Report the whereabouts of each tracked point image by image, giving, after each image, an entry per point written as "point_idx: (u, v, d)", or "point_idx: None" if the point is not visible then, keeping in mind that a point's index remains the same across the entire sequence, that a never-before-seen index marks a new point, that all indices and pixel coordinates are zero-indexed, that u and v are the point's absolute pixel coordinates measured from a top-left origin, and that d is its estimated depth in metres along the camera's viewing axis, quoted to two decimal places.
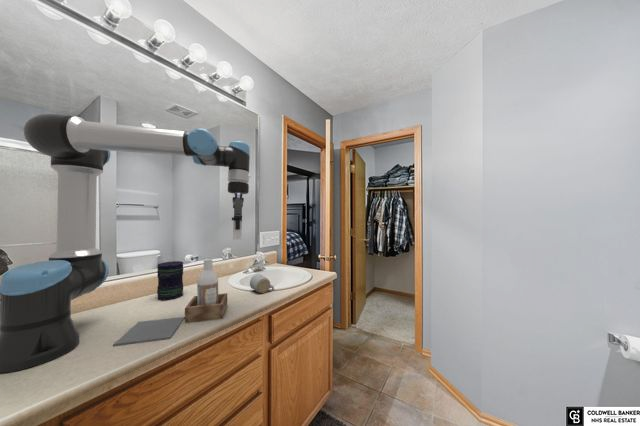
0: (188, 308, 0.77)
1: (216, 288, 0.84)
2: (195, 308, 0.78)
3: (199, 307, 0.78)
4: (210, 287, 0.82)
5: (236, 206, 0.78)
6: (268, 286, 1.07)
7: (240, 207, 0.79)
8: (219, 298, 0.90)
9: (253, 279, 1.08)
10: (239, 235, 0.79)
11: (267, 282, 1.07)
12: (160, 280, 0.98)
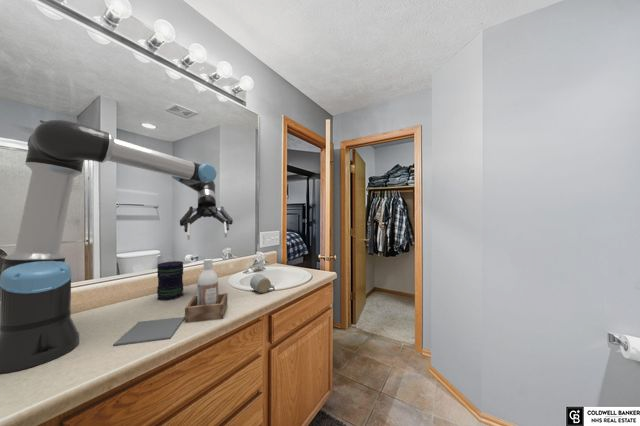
0: (188, 308, 0.77)
1: (216, 288, 0.84)
2: (195, 308, 0.78)
3: (199, 307, 0.78)
4: (210, 287, 0.82)
5: None
6: (268, 286, 1.07)
7: None
8: (219, 298, 0.90)
9: (253, 279, 1.08)
10: None
11: (267, 282, 1.07)
12: (160, 280, 0.98)
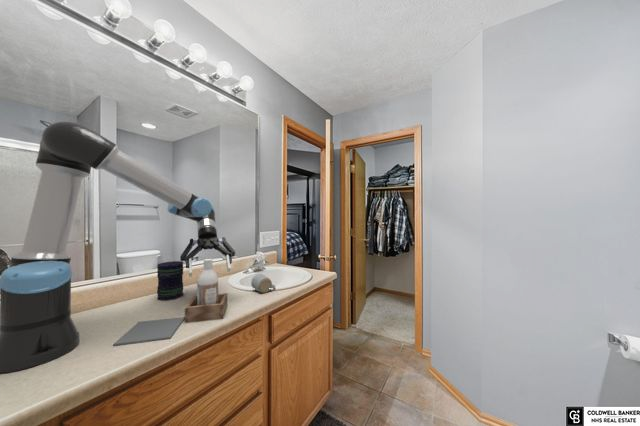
0: (188, 308, 0.77)
1: (216, 288, 0.84)
2: (195, 308, 0.78)
3: (199, 307, 0.78)
4: (210, 287, 0.82)
5: None
6: (270, 286, 1.08)
7: None
8: (219, 298, 0.90)
9: (255, 279, 1.08)
10: None
11: (269, 282, 1.07)
12: (160, 280, 0.98)
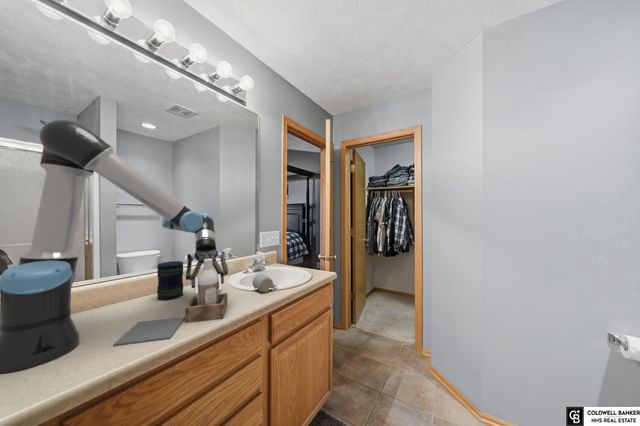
0: (188, 308, 0.77)
1: (216, 288, 0.84)
2: (195, 308, 0.78)
3: (199, 307, 0.78)
4: (210, 286, 0.82)
5: (225, 263, 0.91)
6: (271, 285, 1.08)
7: None
8: (219, 298, 0.90)
9: (256, 278, 1.09)
10: None
11: (270, 281, 1.08)
12: (160, 280, 0.98)
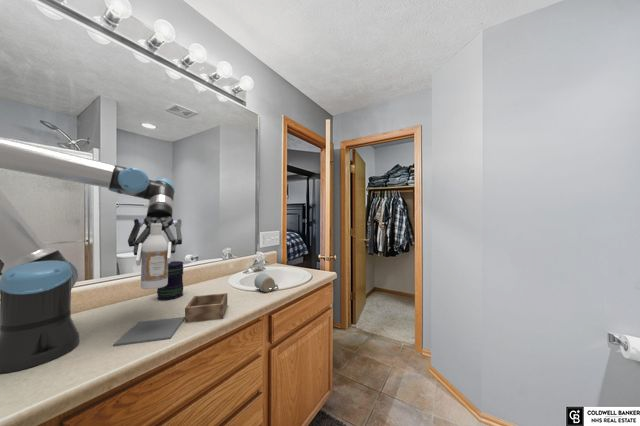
0: (188, 308, 0.77)
1: (164, 257, 0.72)
2: (195, 308, 0.78)
3: (199, 307, 0.78)
4: (156, 254, 0.70)
5: (180, 231, 0.80)
6: (272, 285, 1.09)
7: None
8: (219, 298, 0.90)
9: (258, 278, 1.09)
10: (170, 258, 0.73)
11: (272, 281, 1.08)
12: None
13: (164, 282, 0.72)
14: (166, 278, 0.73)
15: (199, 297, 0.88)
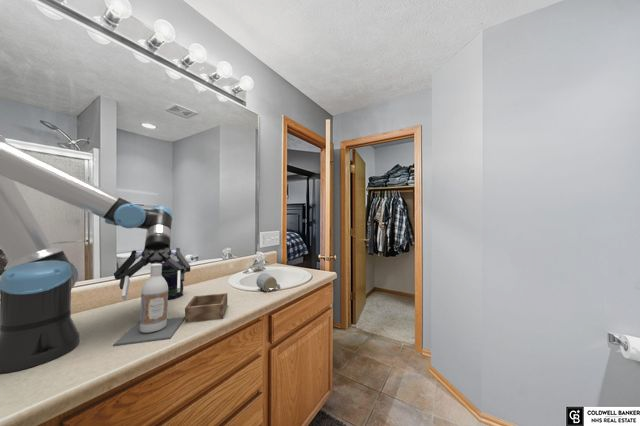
0: (188, 308, 0.77)
1: (164, 298, 0.72)
2: (195, 308, 0.78)
3: (199, 307, 0.78)
4: (155, 296, 0.70)
5: None
6: (274, 285, 1.09)
7: None
8: (219, 298, 0.90)
9: (260, 278, 1.10)
10: None
11: (274, 281, 1.09)
12: None
13: (163, 324, 0.71)
14: (165, 319, 0.72)
15: (199, 297, 0.88)
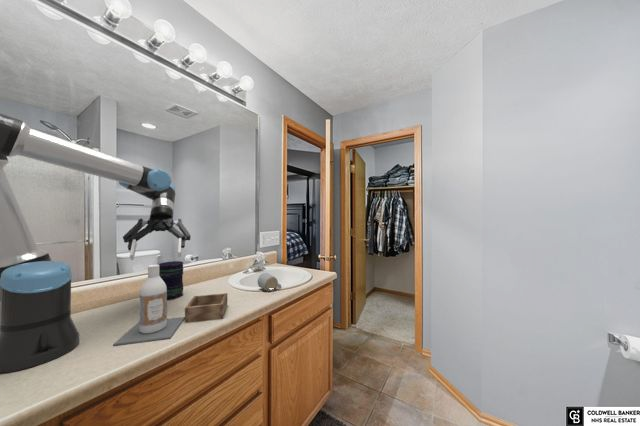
0: (188, 308, 0.77)
1: (163, 299, 0.71)
2: (195, 308, 0.78)
3: (199, 307, 0.78)
4: (154, 298, 0.69)
5: None
6: (276, 284, 1.10)
7: None
8: (219, 298, 0.90)
9: (261, 278, 1.10)
10: None
11: (275, 280, 1.09)
12: None
13: (163, 325, 0.71)
14: (165, 320, 0.72)
15: (199, 297, 0.88)
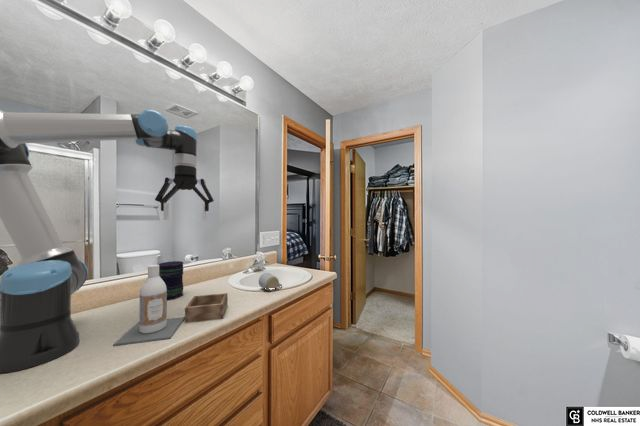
0: (188, 308, 0.77)
1: (163, 299, 0.71)
2: (195, 308, 0.78)
3: (199, 307, 0.78)
4: (154, 298, 0.69)
5: (208, 191, 0.92)
6: (277, 284, 1.10)
7: (209, 192, 0.94)
8: (219, 298, 0.90)
9: (262, 277, 1.11)
10: (205, 216, 0.93)
11: (276, 280, 1.10)
12: None
13: (163, 325, 0.71)
14: (165, 320, 0.72)
15: (199, 297, 0.88)
